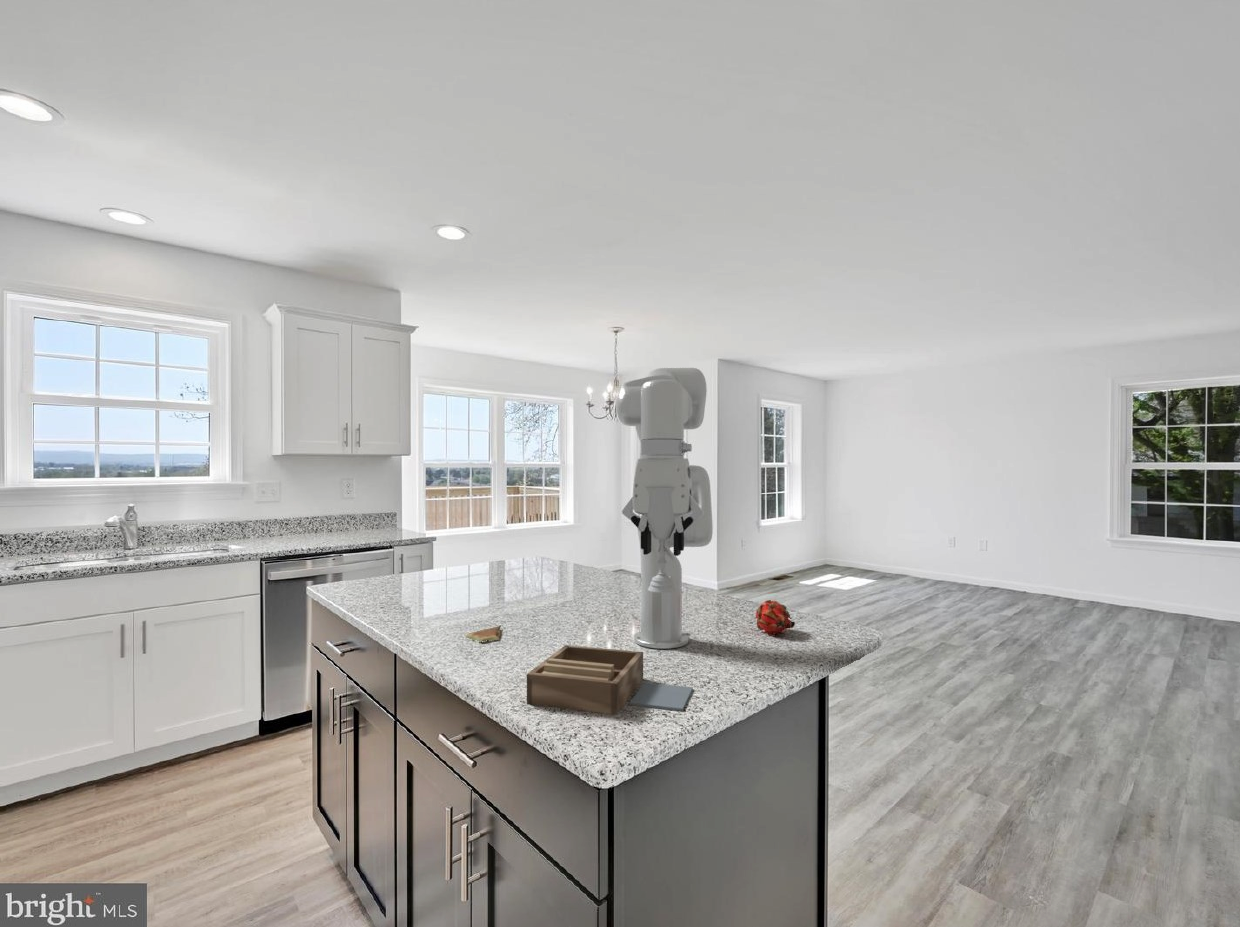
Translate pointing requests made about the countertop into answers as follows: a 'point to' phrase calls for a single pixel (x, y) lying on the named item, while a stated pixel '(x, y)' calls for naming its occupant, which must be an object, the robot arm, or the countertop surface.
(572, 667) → the offcut stack
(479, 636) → the shard
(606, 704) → the frame
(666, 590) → the chalice
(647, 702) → the mat
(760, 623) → the dragon fruit
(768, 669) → the countertop surface
